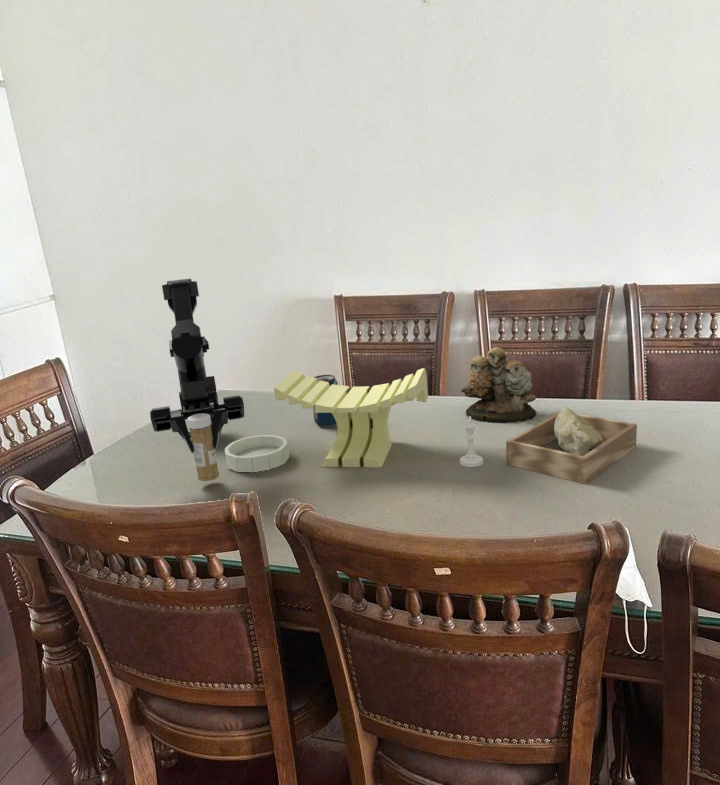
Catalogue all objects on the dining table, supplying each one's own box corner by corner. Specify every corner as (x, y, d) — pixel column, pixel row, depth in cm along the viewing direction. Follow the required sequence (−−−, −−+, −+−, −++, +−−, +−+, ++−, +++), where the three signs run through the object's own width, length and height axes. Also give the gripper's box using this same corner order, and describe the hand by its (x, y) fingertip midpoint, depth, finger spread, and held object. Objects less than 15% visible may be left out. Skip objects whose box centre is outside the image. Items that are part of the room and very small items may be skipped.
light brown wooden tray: (506, 464, 136) (506, 441, 135) (561, 432, 151) (561, 410, 149) (585, 484, 124) (585, 459, 123) (636, 447, 139) (636, 424, 138)
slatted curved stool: (430, 439, 153) (426, 364, 148) (421, 467, 138) (416, 384, 133) (305, 440, 160) (296, 367, 155) (283, 466, 145) (273, 387, 140)
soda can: (347, 420, 171) (342, 375, 168) (331, 429, 166) (326, 382, 162) (324, 417, 175) (320, 373, 172) (309, 426, 170) (304, 380, 166)
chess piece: (485, 458, 140) (483, 413, 137) (481, 467, 136) (480, 421, 133) (462, 457, 142) (460, 412, 139) (457, 466, 137) (455, 420, 134)
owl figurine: (459, 423, 163) (455, 354, 158) (464, 408, 173) (461, 343, 169) (536, 423, 158) (534, 352, 153) (536, 407, 169) (535, 341, 164)
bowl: (215, 464, 150) (212, 449, 149) (263, 445, 159) (261, 431, 158) (251, 478, 140) (249, 462, 139) (300, 457, 150) (299, 442, 149)
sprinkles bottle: (223, 477, 138) (213, 416, 134) (201, 484, 136) (191, 421, 132) (214, 471, 142) (205, 410, 138) (194, 477, 139) (183, 416, 136)
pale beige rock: (564, 445, 149) (525, 417, 140) (588, 421, 147) (550, 391, 138) (605, 489, 136) (564, 462, 128) (631, 464, 135) (592, 434, 126)
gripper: (142, 371, 133) (150, 441, 126) (236, 357, 138) (249, 424, 131) (150, 397, 143) (158, 464, 136) (238, 384, 147) (250, 448, 140)
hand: (204, 450), depth 136 cm, fingers closed on sprinkles bottle, 4 cm apart
